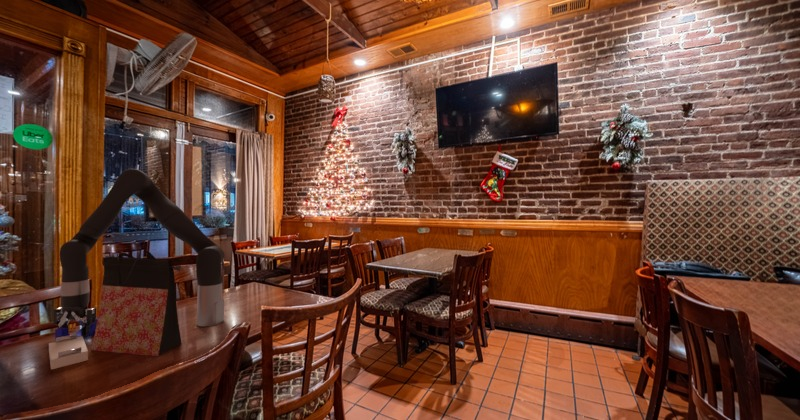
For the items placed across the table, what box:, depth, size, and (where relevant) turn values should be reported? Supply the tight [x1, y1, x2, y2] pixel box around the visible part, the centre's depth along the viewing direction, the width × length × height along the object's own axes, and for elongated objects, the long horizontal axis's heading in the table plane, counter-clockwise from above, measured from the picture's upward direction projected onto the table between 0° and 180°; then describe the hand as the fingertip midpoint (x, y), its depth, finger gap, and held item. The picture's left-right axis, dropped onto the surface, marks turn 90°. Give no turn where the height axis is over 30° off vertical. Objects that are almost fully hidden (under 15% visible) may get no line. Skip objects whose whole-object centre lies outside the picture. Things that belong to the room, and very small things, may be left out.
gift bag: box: [90, 251, 182, 357], centre depth 110 cm, size 29×14×35 cm, turn 84°
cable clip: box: [54, 317, 98, 342], centre depth 117 cm, size 12×4×6 cm, turn 171°
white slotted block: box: [48, 333, 89, 370], centre depth 103 cm, size 8×17×4 cm, turn 50°
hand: (74, 335), depth 117 cm, fingers open, 7 cm apart
